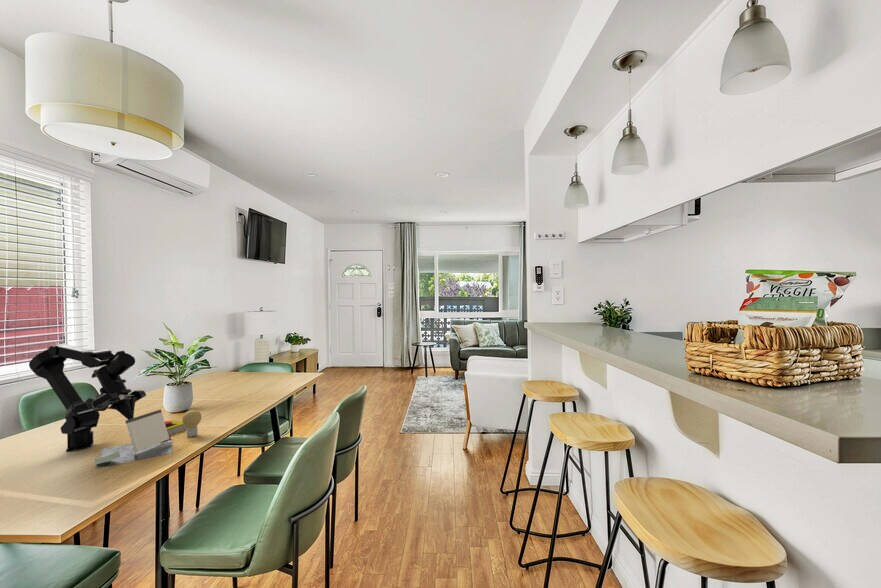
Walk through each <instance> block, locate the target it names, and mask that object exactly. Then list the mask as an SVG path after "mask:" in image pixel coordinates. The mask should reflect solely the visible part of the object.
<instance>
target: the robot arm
mask: <svg viewBox="0 0 881 588" xmlns="http://www.w3.org/2000/svg"><path fill="white" fill-rule="evenodd" d="M68 359H69V360H74V361H79V362H81V364H82V366H85V367H86V368H88V369H92V368H93V369H94V368H98V367H99V368H98V369H94V370H93V372H92V374H91V379H95V378H97V380H98V382H99V384H100V386H101V388H99V392H100V394H99V395H98V396H95V397H89V398H87V399H86V400H85V401H84V400H83V399H82V397H81V396H80V395H79V393H78V392H77V390H76V389H75V387H74V386H73V384H72V382H71V381H70V380H69V378H68V377H67V375H66V374H65V373H64V368H65V362H66V361H67V360H68ZM135 364H136V357H134V356H133V355H131V354H130V353H127V352H125V350H118V351H117V352H115V353H114V352H112V350H110V349H106V348H105V349H101V348H100V349H89V348H88V349H87V348H84V347H79V346H75V345H71V344H68V343H61V344H60V343H59V344H53V345H51V346H49V347H48V348H47V349H44V350H43V351H42V352H40V353H38V354H36V355H35V356H34V357H32V359H31V360H30V361H29V364H28V366H29V369H30V370H31V371H32V372H33V373H34V375H36V376H37V377H39V378H42V379H44V380H46V382H47V383H48V385H49V386H50V387H51V389H52V390H53V391H54V393H55V395H56V397H57V398H58V399H59V401H60V402H61V404H62V405H63V406H64V408H65V410H66V411H65V417H64V418H65V422H64V423H63V424H62V425H61V426H60V431H61V434H63V435H64V434H65V435H67V436H66V437H67V444H66V445H67V446H66V447H67V448H66V452H72V451H77V450H78V451H79V450H83V449H89V448H91V447H92V445H93V444H94V442H95V440H94V439H95V437H94V436H95V435H94V433H95V432H94V431H93V428H97V427H98V423H99V420H100V414H101V413H100V412H105V411H106V410H115V411H117V412H118V413H120V415H122V416H123V417H124V418H125V419H127V420H129V419H132V418H135V406H136V402H138V401H140V400H142V399H143V398H145V397H147V394H146V392H145V390H140V389H139V390H133V391H132V389H131V388H127V387H126V384H125V383H127V380H126V379H124V378H123V379H122V377H121V375H122V374H124V373H125V372H127V371H128V370H130V369H131V367H134V365H135Z"/></svg>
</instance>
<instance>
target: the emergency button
mask: <svg viewBox="0 0 881 588" xmlns="http://www.w3.org/2000/svg"><path fill="white" fill-rule="evenodd" d="M164 422H165V425H166V429H167V432H168V433H170V434H172V435H174V433H175V434H177V433H180V432H182V430H183V431H185V430H184V429H187V427H186V426H185V425H184V424H183V422H182V420H178V419H172V420H166V421H164ZM179 431H180V432H179ZM176 432H177V433H176Z"/></svg>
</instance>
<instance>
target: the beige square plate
mask: <svg viewBox="0 0 881 588" xmlns="http://www.w3.org/2000/svg"><path fill="white" fill-rule="evenodd" d="M124 421H125V424H126V427H127V431H128V433H129V437H130V441H131V443H132V444H133V448H134V451H135V453H136V452H138V451H141V450H143V449H146V448H148V447H151V446H153V445H155V444H158V443H160V442H163V441H165V440H168V439H169V435H168V432H167V429H166V425H165V422H166V421H165V419H164V416H163V413H162V409H158V410H155V411H154V410H153V411H151V412H148V413H145V414H142V415H138V416H137V417H135V416H134V418H132V419H129V420H128V419H127V420H124Z"/></svg>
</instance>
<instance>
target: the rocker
mask: <svg viewBox="0 0 881 588" xmlns="http://www.w3.org/2000/svg"><path fill="white" fill-rule="evenodd" d="M118 457H120V454H119V451H118V452H113V453H109V454H106V455H103V456H101V457H99V456H98V457H96V458H94V459H93V460H94V463H95V464H94V465H97V464H100V463H104V462H108V461H111V460H113V459H115V458H118Z"/></svg>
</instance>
